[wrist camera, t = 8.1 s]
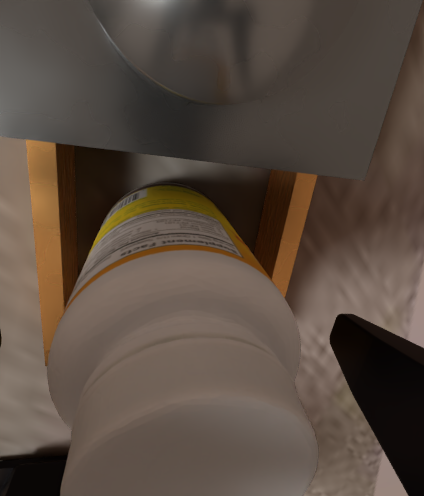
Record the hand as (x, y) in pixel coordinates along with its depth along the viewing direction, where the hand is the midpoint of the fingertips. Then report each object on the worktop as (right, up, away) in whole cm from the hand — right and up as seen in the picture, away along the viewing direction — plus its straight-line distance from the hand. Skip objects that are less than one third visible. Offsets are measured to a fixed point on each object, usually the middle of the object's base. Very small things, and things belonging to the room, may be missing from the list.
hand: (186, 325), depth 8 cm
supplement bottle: (-1, +3, +6) cm, 7 cm away
